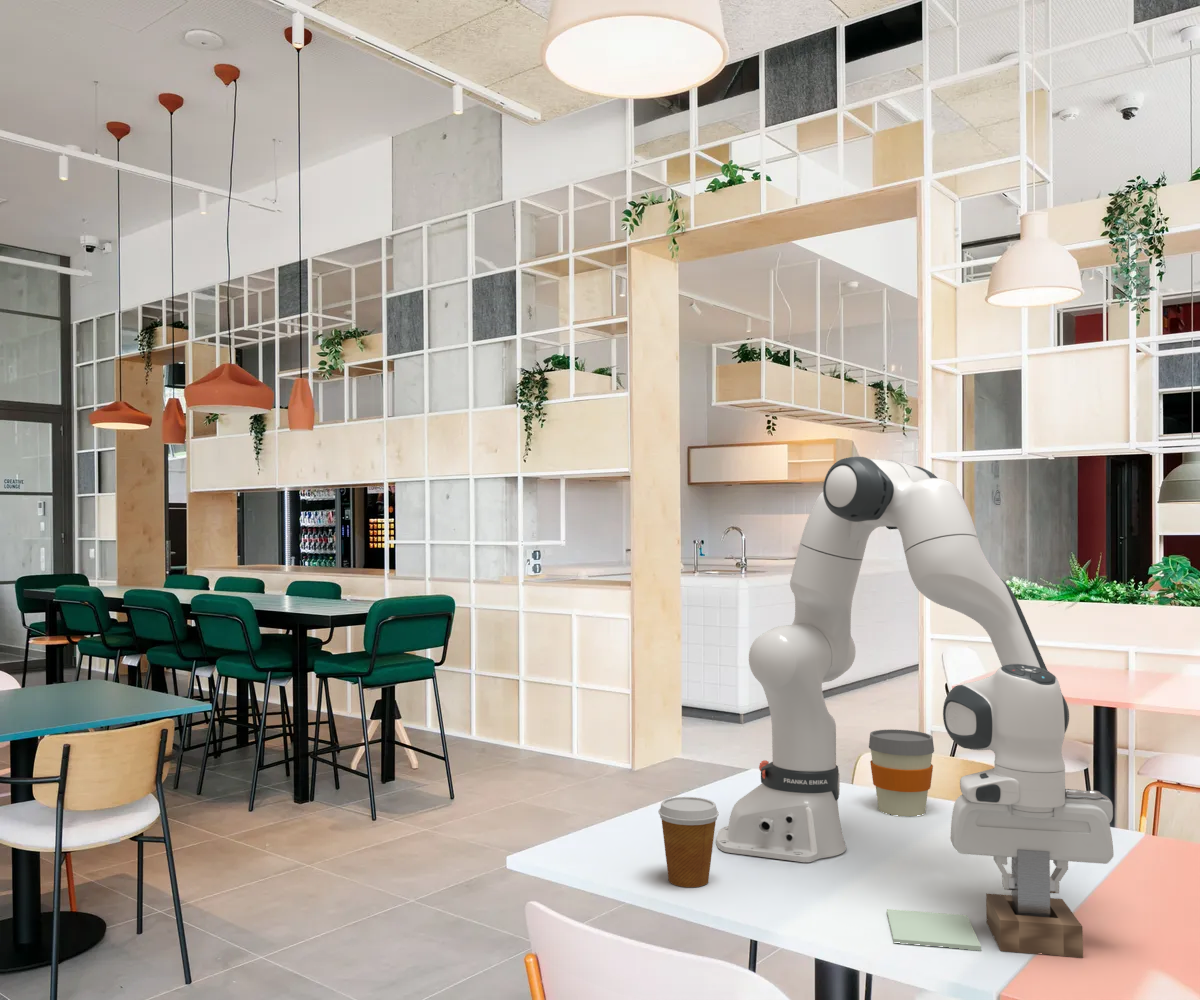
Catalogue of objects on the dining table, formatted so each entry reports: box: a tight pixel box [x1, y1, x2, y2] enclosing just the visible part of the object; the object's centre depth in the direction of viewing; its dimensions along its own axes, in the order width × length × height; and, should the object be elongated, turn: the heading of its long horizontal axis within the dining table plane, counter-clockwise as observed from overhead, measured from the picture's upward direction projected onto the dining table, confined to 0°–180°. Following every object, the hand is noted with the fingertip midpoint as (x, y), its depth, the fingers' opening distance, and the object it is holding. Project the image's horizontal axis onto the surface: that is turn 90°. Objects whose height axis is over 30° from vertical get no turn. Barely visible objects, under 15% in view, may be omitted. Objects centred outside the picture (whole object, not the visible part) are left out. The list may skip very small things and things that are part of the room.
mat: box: [886, 908, 982, 952], centre depth 135 cm, size 11×11×1 cm
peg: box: [1011, 850, 1051, 917], centre depth 133 cm, size 4×4×12 cm
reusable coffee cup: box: [868, 729, 935, 817], centre depth 196 cm, size 13×12×15 cm
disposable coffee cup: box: [658, 796, 720, 888], centre depth 155 cm, size 10×10×12 cm
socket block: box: [985, 893, 1084, 959], centre depth 132 cm, size 10×10×4 cm
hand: (1030, 890), depth 133 cm, fingers closed on peg, 4 cm apart
